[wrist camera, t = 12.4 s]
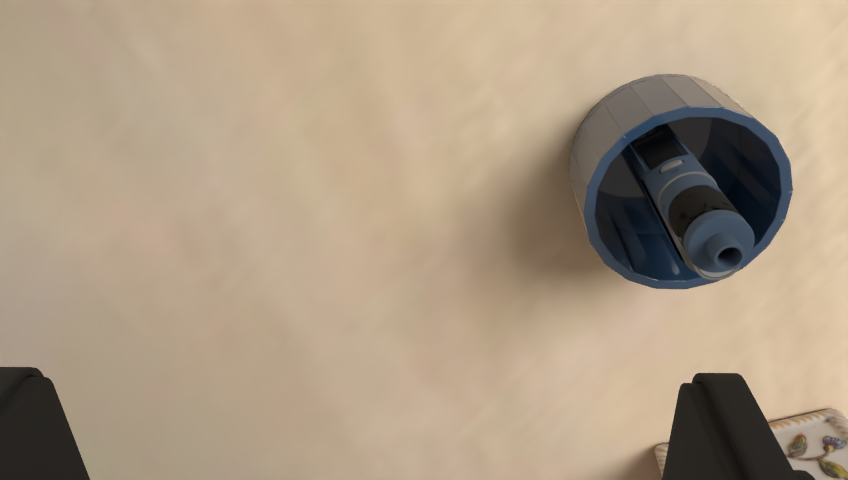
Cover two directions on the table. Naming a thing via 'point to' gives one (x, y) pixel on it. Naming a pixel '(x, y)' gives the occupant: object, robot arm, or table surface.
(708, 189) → the vaping device
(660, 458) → the decorative jar
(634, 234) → the pen cup
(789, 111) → the table surface
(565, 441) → the table surface
